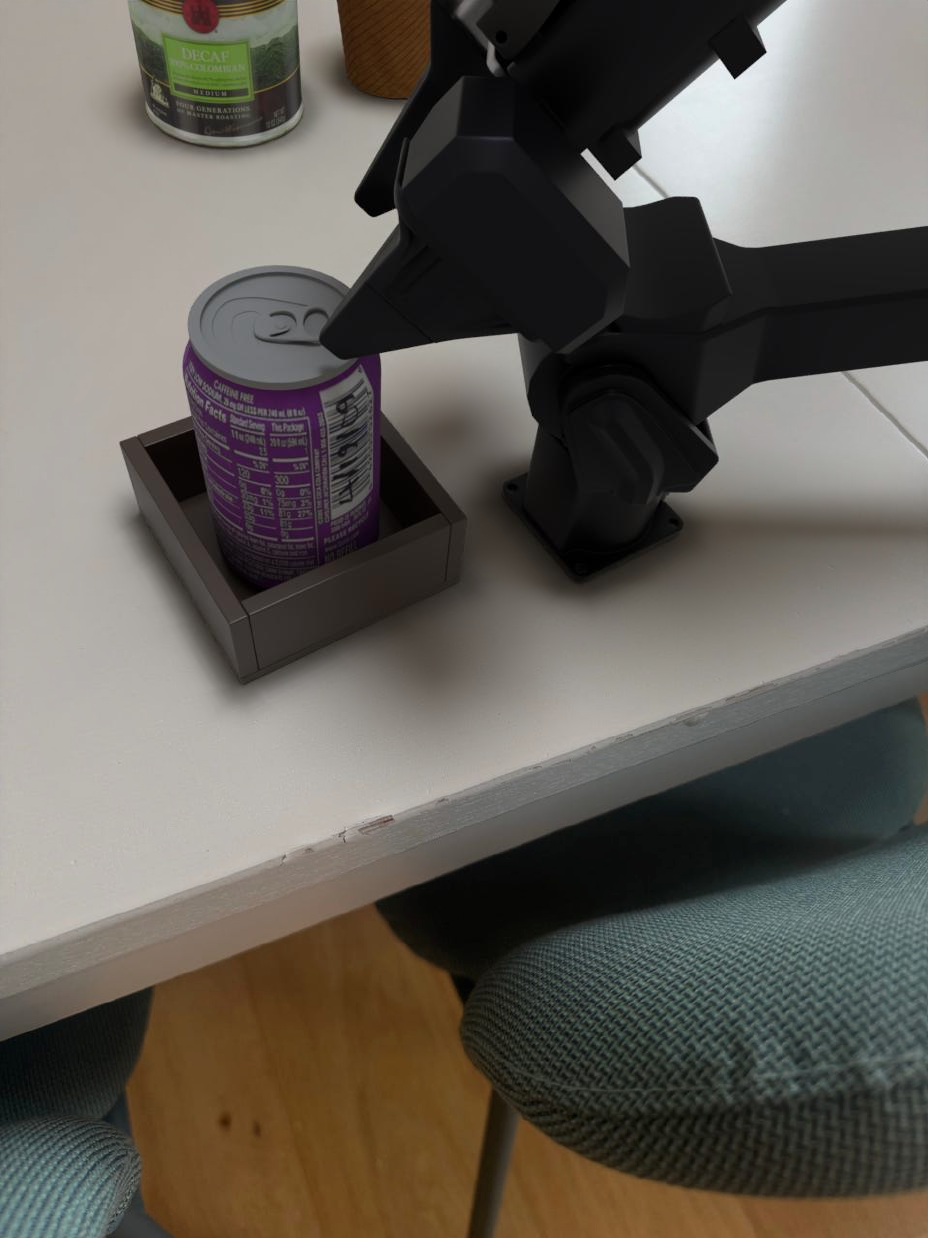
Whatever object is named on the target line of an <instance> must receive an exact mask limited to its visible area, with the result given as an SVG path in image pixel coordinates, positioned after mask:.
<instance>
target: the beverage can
mask: <svg viewBox="0 0 928 1238" xmlns="http://www.w3.org/2000/svg"><path fill="white" fill-rule="evenodd" d="M350 289H351V287H349V285H347V284H345V283H344V282H342V281H341V280H339V279H338V278H336V277H334V276H332V275H329V274H327V273H325V272H322V271H319V270H316V269H313V268H308V267H303V266H302V267H301V266H297V265H285V264H281V265H280V264H273V265H271V264H269V265H261V266H254V267H249V268H245V269H241V270H238V271H234V272H232V273H229V274H227V275H225V276H223V277H221V278H219V279H218V280H216V281H214V282H212V283H211V284H210V285H209V286H207V287H206V288H205V289H204V290H202V291H201V293H200V294H199V295H198V296H197V297H196V299H195V300H194V301H193V303H192V305H191V307H190V310H189V312H188V316H187V332H188V333H187V334H188V336H189V337H188V338H189V339H188V341H187V344H186V346H185V348H184V352H183V356H182V364H181V365H182V367H181V368H182V377H183V378H182V379H183V383H184V387H185V393H186V396H187V403H188V406H189V411H190V416H192V421H193V426H194V431H195V436H196V440H197V445H198V450H199V455H200V460H201V464H202V469H203V474H204V479H205V484H206V488H207V493H208V498H209V503H210V508H211V512H212V517H213V522H214V527H215V532H216V536H217V541H218V545H219V548H220V551H221V553H222V555H223V557H224V558H225V560H226V561H227V563H228V564H229V565H230V566H231V567H232V568H233V569H234V570H235V571H236V572H237V573H238V574H239V575H241V576H242V577H244V578H245V579H247V580H249V581H250V582H252V583H254V584H256V585H259V586H261V587H264V588H267V589H270V588H272V587H274V586H276V585H279V584H281V583H283V582H285V581H288V580H290V579H292V578H295V577H297V576H299V575H301V574H304V573H306V572H308V571H310V570H313V569H315V568H317V567H319V566H322V565H324V564H326V563H328V562H331V561H333V560H335V559H337V558H340V557H342V556H344V555H347V554H349V553H351V552H353V551H356V550H358V549H360V548H362V547H365V546H367V545H369V544H371V543H374V542H376V541H378V536H379V508H380V433H381V411H382V359H381V353H380V354H374V355H369V356H364V357H359V358H353V359H348V360H341V359H339V358H337V357H336V356H335V355H333V354H332V353H331V352H330V351H328V350H327V349H326V348H325V347H324V346H322V345H321V344H320V342H319V336H320V332H321V330H322V328H323V327H324V326H325V324H326V323H327V321H328V320H329V318H330V317H331V315H332V314H333V312H334V311H335V309H336V308H337V307H338V305H339V304H340V302H341V301H342V299H343V298H344V297H345V295H346V294H347V293H348V291H349V290H350Z"/></svg>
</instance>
